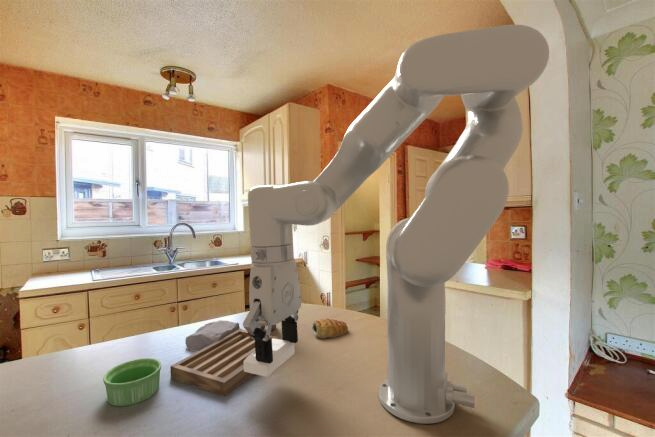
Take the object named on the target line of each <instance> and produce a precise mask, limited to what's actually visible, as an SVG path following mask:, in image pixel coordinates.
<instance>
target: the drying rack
mask: <svg viewBox="0 0 655 437" xmlns="http://www.w3.org/2000/svg"><path fill="white" fill-rule="evenodd" d="M273 338H274V339H280V340H282V337H279V336H274V335H270V336H269V339H273ZM254 351H255V340H254V339H252V336H250V335H249V334H248V332H247V330H246V329H245V330H244V329H241V328H240V329H239V330H237V331H235V332H233V333H231V334H230V335H228V336H226V337H224V338H222V339H220V340H218V341H216V342H215V343H213V344H211V345H209V346H207V347H205V348H203V349H201V350H200V351H195V353H194V352H193V353H192V354H190V355H188V356H187V357H185V358H183V359H181V360H179V361H177V362H175V363H174V364H172V365H170V369H169V370H170V379H171V380H174V381H176V382H180V383H183V384H186V385H189V386H192V387H194V388H199V389H200V390H201V389H202V390H204V391H208V392H211V393H214V394H216V395H219V396H221V397H222V396H223V397H226V396H228V394H230V393H231V392H232V391H234V390H235V389H237V388H238V387H239V386H240V385H242V384H243V383H245V382H246V380H248V379H250V378H251V377H252V376H253V375H254V374H252V373H248V372H244V364H243V361H244V360H245V359H246V358H247V357H248V356H249V355H250V354H251V353H253V352H254Z"/></svg>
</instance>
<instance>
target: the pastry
mask: <svg viewBox="0 0 655 437" xmlns="http://www.w3.org/2000/svg"><path fill="white" fill-rule="evenodd" d="M311 329H312V333H313V334H314V336H315V337H316V338H320V339H326V338H335V337H339V336H342V335H344V334H345V333H348V330H349V328H348V325H347V323H346V322H345V321H342V320H339V321H338V319H329V318H324V319H323V318H319V319H318V320H313V323H312V325H311Z"/></svg>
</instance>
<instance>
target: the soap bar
mask: <svg viewBox="0 0 655 437" xmlns="http://www.w3.org/2000/svg"><path fill="white" fill-rule="evenodd" d="M272 351H273V362H272V363H270V364H269V363H264V362H259V361H257V360H256V354H255V351H254V352H253V353H251V354H250V355H249V356H248V357H247V358H246V359H245V360H244V361H243V364H244V372H248V373H252V374H253V375H257V376H261V377H266V378H267V377H269V376H270V375H271V374H273V373H274V372H275V371H276V370H277V369H278V368H279V367H281V366H282V365H283V364H284V363H285V362H286V361H287V360H289V359H290V358H291V357H292V356H293V355H294V354H295V352H296V351H295V343H291V342H289V341H286V340H280V339H274V338H273V339H272Z"/></svg>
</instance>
